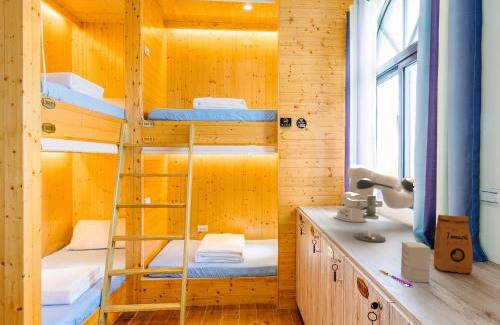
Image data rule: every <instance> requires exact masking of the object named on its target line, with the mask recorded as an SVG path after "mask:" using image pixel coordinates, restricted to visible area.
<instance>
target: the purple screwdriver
mask: <svg viewBox="0 0 500 325" xmlns="http://www.w3.org/2000/svg"><path fill="white" fill-rule="evenodd" d="M379 270H380V271H381V272H380V271H379V272H380V273H382V272H383V273H382V274H384V275H385V274H386V275H387V276H390V277H391V278H392V277H393V278H392V279H395V280H396V279H397V280H396V281H398V280H399V281H398V282H400V281H401V282H400V283H402V282H403V283H402V284H407V285H409V286H408V287H410V286H412V287H413V284H412V282H411V283H410V282H409V281H407V280H403V279H401V278H399V277H397V276H394V275H391V274H389V272H388V271H384V270H383V269H379Z"/></svg>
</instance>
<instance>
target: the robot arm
mask: <svg viewBox="0 0 500 325" xmlns="http://www.w3.org/2000/svg"><path fill="white" fill-rule="evenodd" d="M346 172H347V176H348V178H349V179H350V180H349V182H350V183H349V187H348V191H345V192H343V193H342V194H341V197H340V200H341V203H342V204H343V206H341V207H340V208H338V209H337V213H336V214H335V215H334V216H333V218H334V219H336V220H337V219H338V220H341V221H346V222H348V223H349V222H354V223H355V222H356V223H361V222H362V223H365V222H367V219H366V218H363V215H364V214H366V207H368V203H367V195H372V196H374V189H375V190H380V192H381V195H382V198H383V200H380V199H377V198H376V208H382V207H383V204H385V205H386V207H388V208H390V209H394V210H400V209H401V210H403V209H408V208H410V207H413V205H414V203H413V198H414V194H413V188H414V186H413V183H414V180H415V179H414V178H412V177H410V176H406V177H403V178H402V179H400V178H398V177H397V176H394V175H392V174H389V173H386V172H383V171H379V170H377V169H372V168H368V167H365V166H364V165H360V164H352V165H350V166H349V167H348V168H347V171H346Z"/></svg>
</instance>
